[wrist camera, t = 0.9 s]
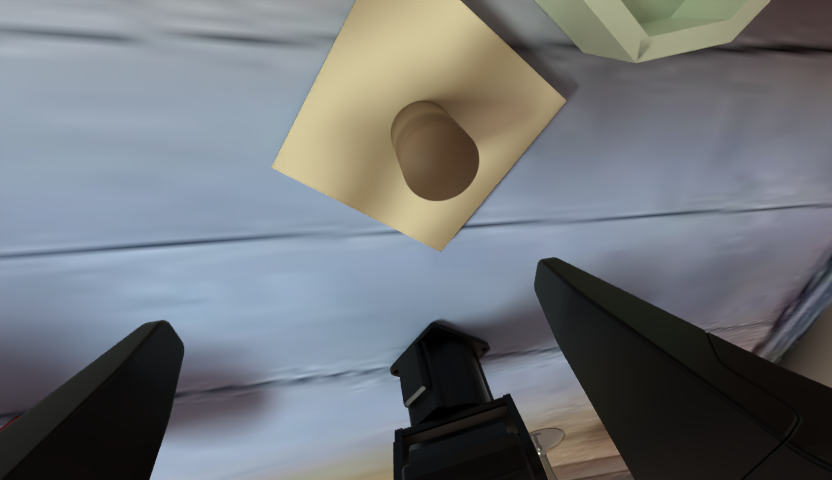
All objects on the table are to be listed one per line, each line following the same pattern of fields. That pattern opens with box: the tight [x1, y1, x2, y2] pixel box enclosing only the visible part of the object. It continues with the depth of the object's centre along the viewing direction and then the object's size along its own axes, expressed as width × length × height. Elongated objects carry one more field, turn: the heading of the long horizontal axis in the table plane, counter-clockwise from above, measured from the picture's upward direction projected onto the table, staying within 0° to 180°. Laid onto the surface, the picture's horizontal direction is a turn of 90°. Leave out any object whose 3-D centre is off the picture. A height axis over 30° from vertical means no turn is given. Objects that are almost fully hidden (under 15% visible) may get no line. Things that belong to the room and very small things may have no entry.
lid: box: [272, 0, 566, 252], centre depth 16 cm, size 11×11×5 cm
